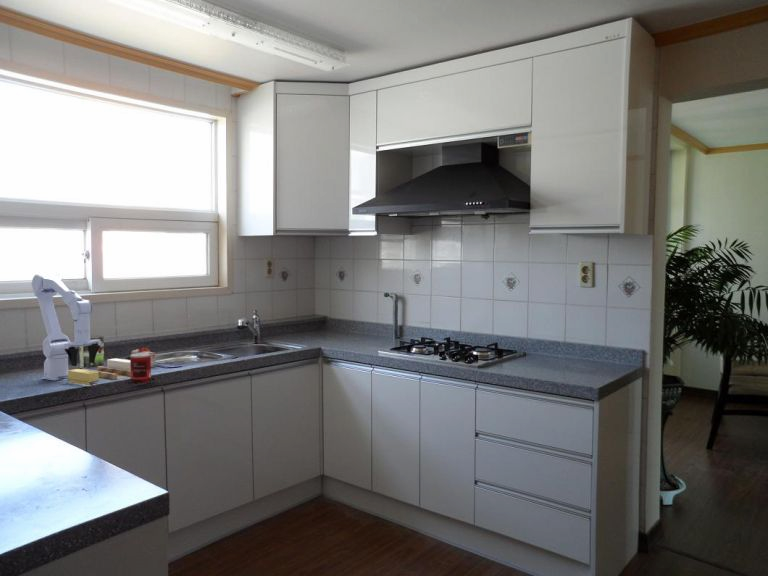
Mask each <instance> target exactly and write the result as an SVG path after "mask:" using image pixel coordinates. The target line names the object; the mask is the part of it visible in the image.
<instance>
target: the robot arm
mask: <svg viewBox="0 0 768 576" xmlns="http://www.w3.org/2000/svg"><path fill="white" fill-rule="evenodd" d="M31 280H32V281H31V287H32V291H33V294H34V296H35V297H36V299H37V302H38V307H39V310H40V312H41V316H42V320H43V323H44V328H45V332H46V334H47V336H46V337H44V339H43V340H42V353H43V355H44V356H45V358H46V359H45V360H44V361H43V373H44V375H43V376H42V378H41V379H43V380H48V381H54V382H57V381H63V380H67V377H65V376H68V370H69V360H70V364H71V366H73V367H76V366H77V362H78V361H77V360H78V359H77V358H78V351H79V347H81V346H87V348H88V352H89V362H90V363H94V361H95V357H96V354H97V352H98V350H99V348H100V345H98V344H101V343H100V339H95V340H90V336H91V317H90V315H91V314H92V312H93V310H94V309H93V308H94V306H93V303H92V302H91V300H90V299H83V298H82V297H81V296H80V294H78V293H77V292H76V291H75V290H70V289H69V288H68V287H67V286H66V285H65V284H64V282H63V277H62V276H61V275H60V274H59V273H55V274H34V275H33V278H32V279H31ZM57 294H59V295H60V296H61V300H62V301H63V303H64V304H66V305H67V307H68V308H69V311H70V313H71V319H72V320H73V336H74V341H71V340H70V339H69V336H68V335H66V334H65V333H63V332H62V329H61V325H60V322H59V319H58V316H57V315H58V314H57V312H56V308H55V305H54V301H53V297H54V296H56V295H57ZM82 344H85V345H82Z"/></svg>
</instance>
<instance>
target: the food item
mask: <svg viewBox="0 0 768 576" xmlns="http://www.w3.org/2000/svg"><path fill="white" fill-rule="evenodd" d="M130 353H131V354H130V355H132V354H136V353H149V354H150V357H151V368H155V367H156V361H157V360H156V353H155V352H152V351H150V349H149V347H144V346H142V347H141V348H138V347H137V349H134V350H132V351H130Z"/></svg>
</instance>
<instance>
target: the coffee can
mask: <svg viewBox="0 0 768 576" xmlns="http://www.w3.org/2000/svg"><path fill="white" fill-rule="evenodd" d="M104 338H105V336H104V335H90V340H95V339H100V343H101V344H98V345H100V348H99V350H98V352H97V354H96V357H95V361H94V363H90V362H89V352H88V348H87V346H81V347H78V351H79V369H80V368H82V369H89V368H94V367H97V366H104V365H105V351H104V350H105V348H104V347H105V346H104V345H105V344H104V343H105V342H104ZM82 345H85V344H82Z"/></svg>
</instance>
